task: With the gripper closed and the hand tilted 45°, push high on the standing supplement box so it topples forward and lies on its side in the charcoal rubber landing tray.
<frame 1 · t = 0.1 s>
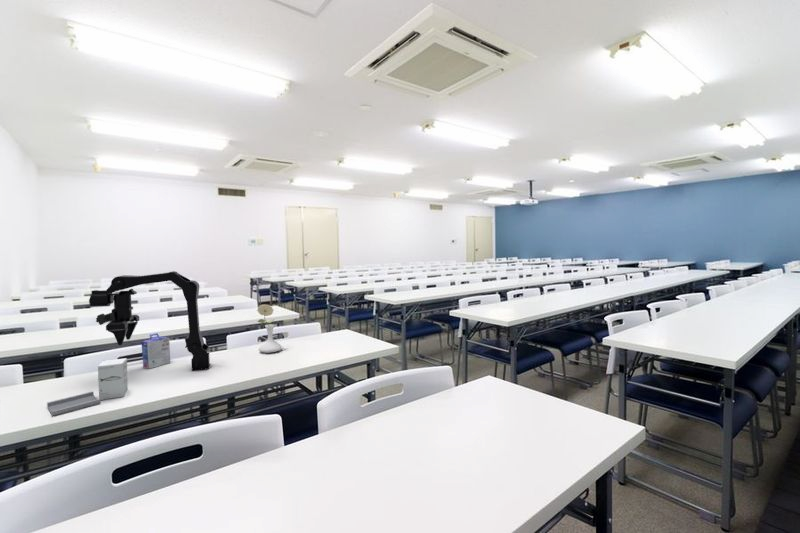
hand: (124, 342, 148), 15 cm above the table, tool pointing down, fingers open, 9 cm apart
flower in vase: (269, 351, 185), on the table
supplement box: (114, 395, 130), on the table
landing tray: (74, 405, 121), on the table
ink cartridge box: (156, 365, 163), on the table
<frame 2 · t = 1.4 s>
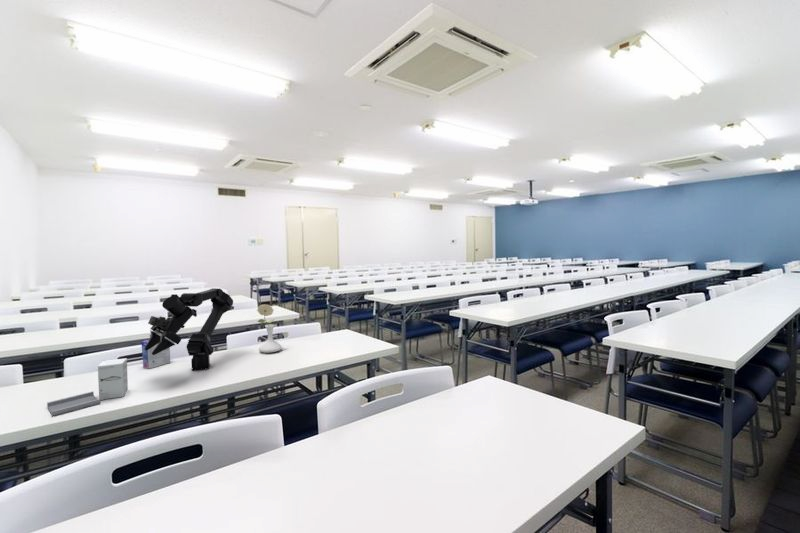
hand: (148, 352, 139), 13 cm above the table, tool tilted 45°, fingers open, 9 cm apart
nothing on the table moved.
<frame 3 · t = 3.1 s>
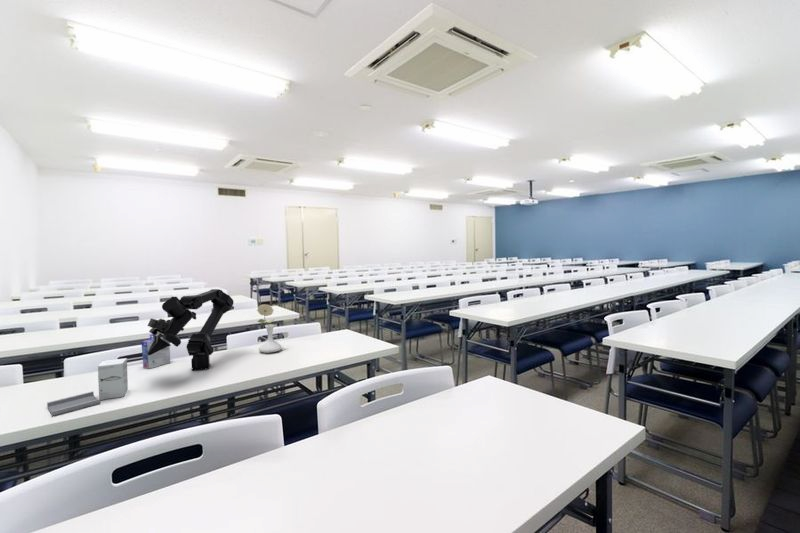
hand: (148, 354, 138), 13 cm above the table, tool tilted 45°, fingers closed
nothing on the table moved.
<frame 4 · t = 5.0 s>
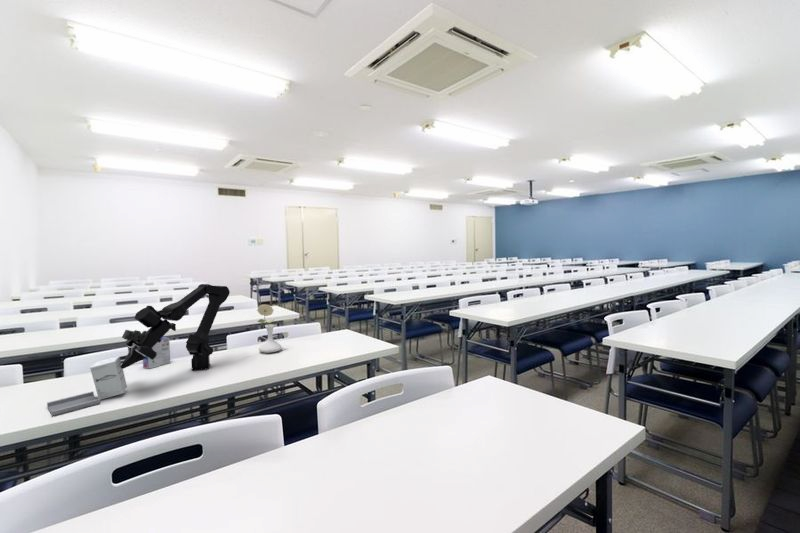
hand: (121, 367, 131), 10 cm above the table, tool tilted 45°, fingers closed
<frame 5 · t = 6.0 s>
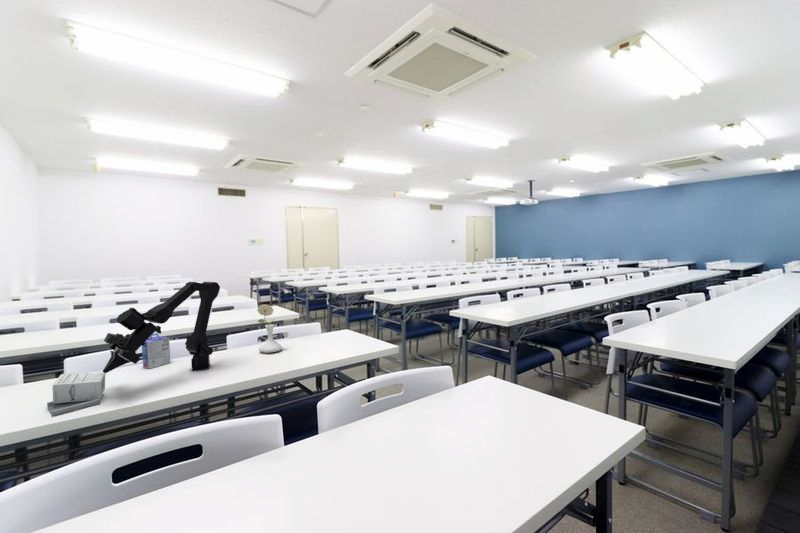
hand: (103, 372, 127), 9 cm above the table, tool tilted 45°, fingers closed
supplement box: (103, 385, 128), point 4 cm above the table, touching landing tray
everything else where it was.
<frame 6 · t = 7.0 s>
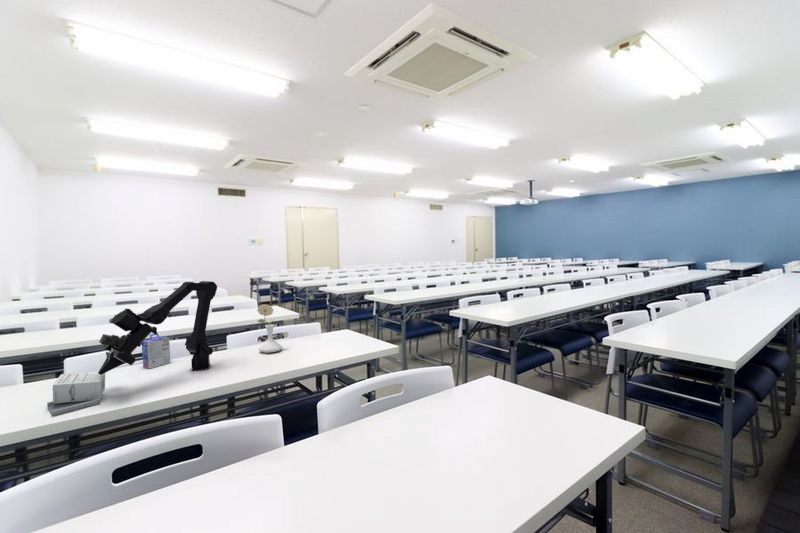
hand: (99, 373, 127), 9 cm above the table, tool tilted 45°, fingers closed
nothing on the table moved.
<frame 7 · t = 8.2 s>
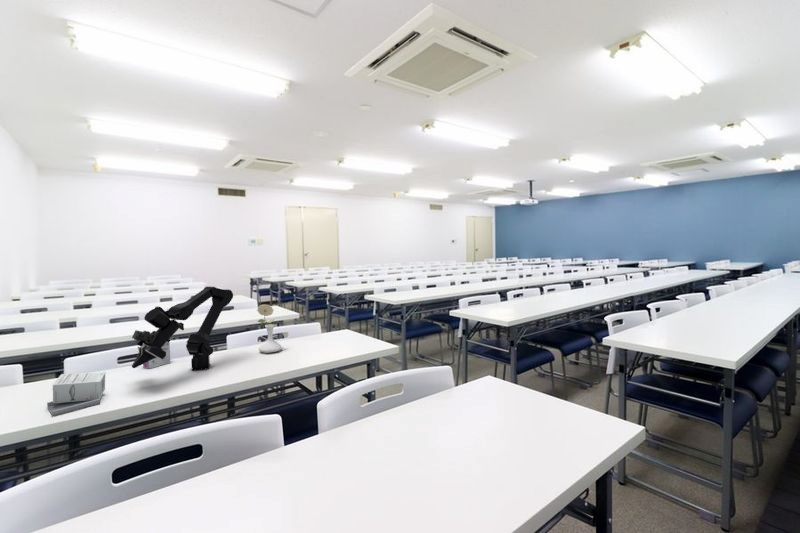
hand: (132, 367, 134), 9 cm above the table, tool tilted 45°, fingers closed
nothing on the table moved.
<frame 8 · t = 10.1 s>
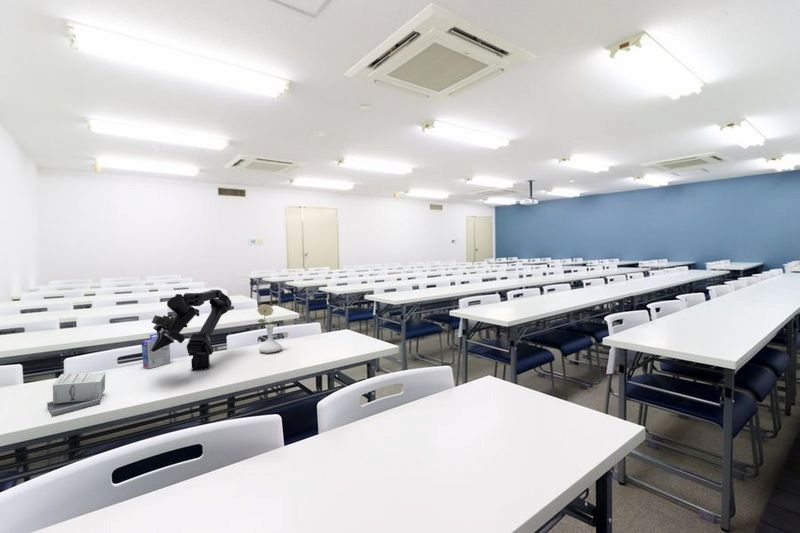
hand: (152, 351, 139), 14 cm above the table, tool tilted 45°, fingers closed
nothing on the table moved.
at the end: supplement box tilted 85°; supplement box touching landing tray; the gripper is holding nothing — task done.
